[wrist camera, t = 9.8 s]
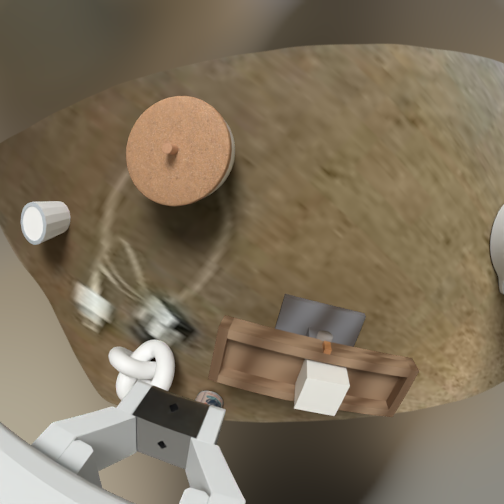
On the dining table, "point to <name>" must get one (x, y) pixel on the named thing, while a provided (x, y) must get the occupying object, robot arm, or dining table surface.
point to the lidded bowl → (179, 151)
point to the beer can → (210, 398)
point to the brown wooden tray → (309, 356)
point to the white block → (320, 387)
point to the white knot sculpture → (143, 366)
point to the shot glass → (44, 220)
